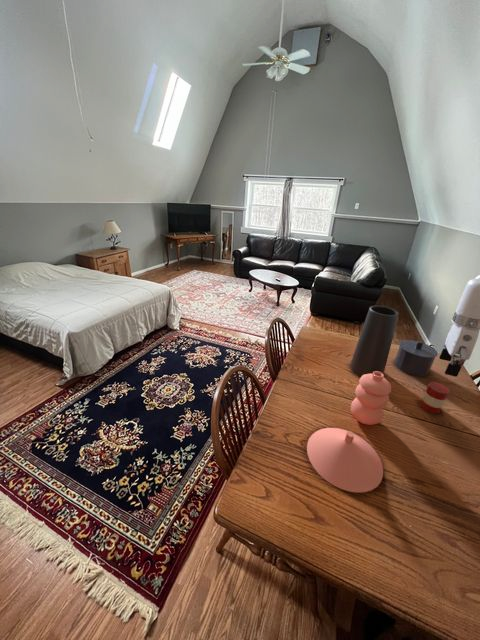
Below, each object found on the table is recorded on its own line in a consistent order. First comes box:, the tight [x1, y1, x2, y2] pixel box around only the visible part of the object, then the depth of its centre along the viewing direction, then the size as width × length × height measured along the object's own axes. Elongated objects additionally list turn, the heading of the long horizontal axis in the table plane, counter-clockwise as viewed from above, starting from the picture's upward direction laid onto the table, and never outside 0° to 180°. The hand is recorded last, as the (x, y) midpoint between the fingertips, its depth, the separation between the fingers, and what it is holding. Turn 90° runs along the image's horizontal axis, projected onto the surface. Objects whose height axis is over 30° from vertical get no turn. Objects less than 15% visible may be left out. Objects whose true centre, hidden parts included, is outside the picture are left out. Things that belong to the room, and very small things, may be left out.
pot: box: [393, 346, 436, 377], centre depth 120 cm, size 14×14×10 cm
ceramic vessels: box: [306, 371, 392, 494], centre depth 79 cm, size 35×21×19 cm, turn 140°
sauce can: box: [420, 381, 450, 414], centre depth 97 cm, size 6×6×9 cm
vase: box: [349, 305, 400, 378], centre depth 112 cm, size 14×14×29 cm
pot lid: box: [398, 339, 439, 359], centre depth 118 cm, size 15×15×4 cm
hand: (447, 367), depth 88 cm, fingers open, 9 cm apart
